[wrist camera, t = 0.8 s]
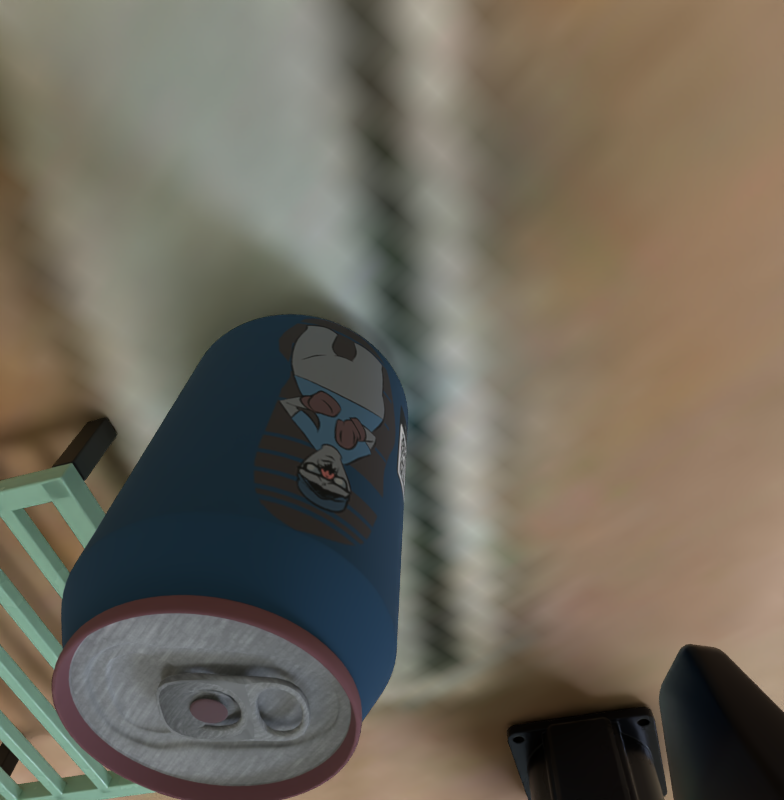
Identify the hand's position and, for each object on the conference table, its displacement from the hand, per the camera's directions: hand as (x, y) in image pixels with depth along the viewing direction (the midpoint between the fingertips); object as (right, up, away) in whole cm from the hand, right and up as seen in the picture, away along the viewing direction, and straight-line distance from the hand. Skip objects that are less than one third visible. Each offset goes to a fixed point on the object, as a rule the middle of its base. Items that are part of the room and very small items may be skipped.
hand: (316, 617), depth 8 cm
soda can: (-2, +3, +15) cm, 15 cm away
